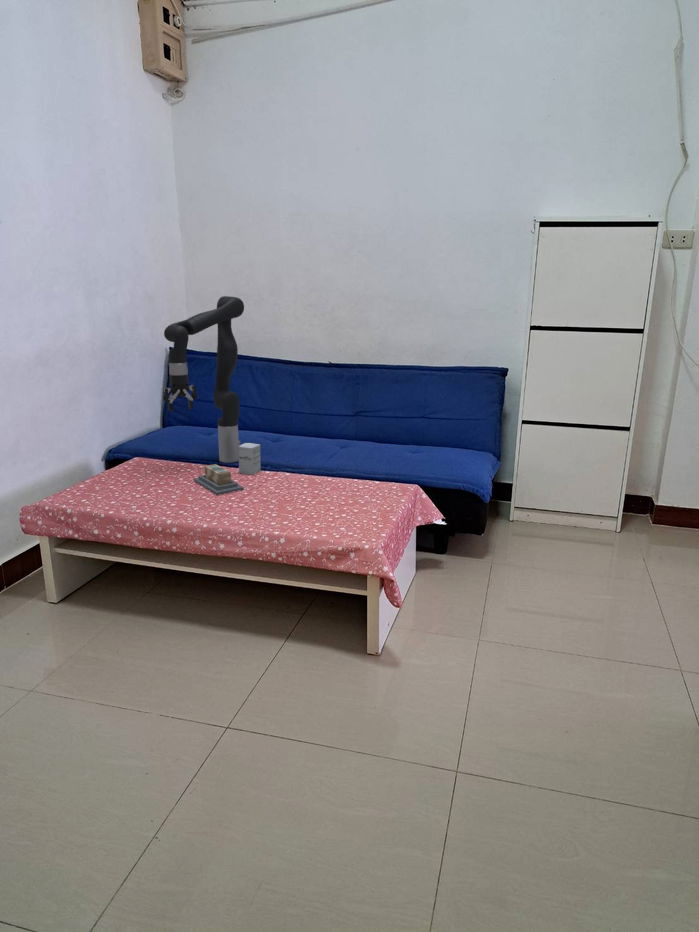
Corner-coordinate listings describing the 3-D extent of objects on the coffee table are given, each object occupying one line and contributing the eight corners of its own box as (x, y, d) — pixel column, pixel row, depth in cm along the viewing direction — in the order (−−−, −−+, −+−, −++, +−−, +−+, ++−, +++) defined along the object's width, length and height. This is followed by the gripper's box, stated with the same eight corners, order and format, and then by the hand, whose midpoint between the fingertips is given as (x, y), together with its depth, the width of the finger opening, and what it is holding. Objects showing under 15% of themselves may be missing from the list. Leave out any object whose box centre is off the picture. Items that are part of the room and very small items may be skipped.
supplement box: (238, 473, 293) (237, 446, 289) (247, 468, 299) (246, 442, 296) (253, 475, 290) (252, 447, 287) (261, 470, 297) (260, 443, 293)
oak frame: (205, 479, 280) (204, 465, 278) (216, 477, 283) (215, 463, 281) (220, 488, 269) (219, 473, 268) (231, 486, 272) (230, 471, 270)
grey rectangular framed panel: (193, 481, 281) (193, 475, 281) (219, 476, 288) (219, 470, 287) (216, 495, 265) (216, 489, 264) (243, 489, 272) (243, 483, 271)
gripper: (190, 370, 287) (192, 407, 292) (159, 373, 279) (161, 410, 284) (198, 372, 281) (200, 410, 286) (166, 375, 273) (168, 414, 278)
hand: (180, 410), depth 285 cm, fingers open, 8 cm apart
